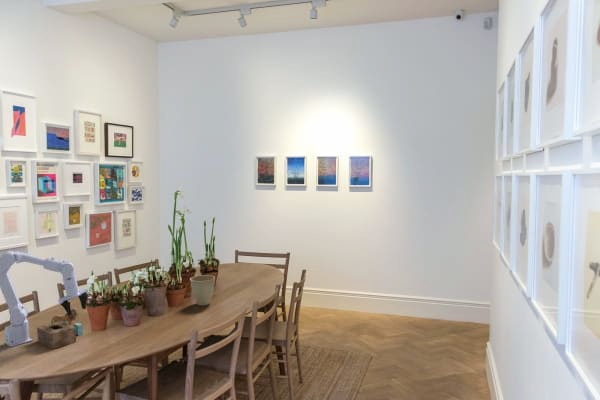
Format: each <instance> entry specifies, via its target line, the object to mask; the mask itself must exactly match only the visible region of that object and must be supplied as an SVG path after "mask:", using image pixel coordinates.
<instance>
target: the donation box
mask: <svg viewBox="0 0 600 400" xmlns="http://www.w3.org/2000/svg"><path fill="white" fill-rule="evenodd" d="M53 322H54V321H53ZM53 322H52V323H51V322H50V323H46V324H43V325H38V326H37V327H36V329H37V333H36V334H37V342H39V343H40V344H42V345H44V346H45V347H47V348H49V349H51V350H53V349H57V348H59V347H62V346H66V345H69V344H73V343H76V342H77V341H76V340H77V337H76V333H75V327H74V325H72V326H71V325H69V323H68V322H63V321H58V322H54V323H53Z"/></svg>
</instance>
